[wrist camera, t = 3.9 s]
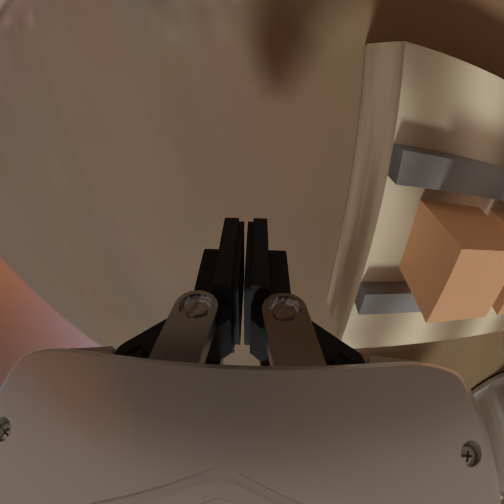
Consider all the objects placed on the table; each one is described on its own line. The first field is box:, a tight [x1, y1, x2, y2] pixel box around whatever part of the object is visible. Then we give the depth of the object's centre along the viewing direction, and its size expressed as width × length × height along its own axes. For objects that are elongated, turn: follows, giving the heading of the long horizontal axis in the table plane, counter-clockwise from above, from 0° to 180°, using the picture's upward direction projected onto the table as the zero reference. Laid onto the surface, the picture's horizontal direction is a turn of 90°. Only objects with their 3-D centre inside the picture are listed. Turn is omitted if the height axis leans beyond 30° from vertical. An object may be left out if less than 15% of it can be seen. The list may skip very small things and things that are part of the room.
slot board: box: [327, 41, 504, 349], centre depth 15 cm, size 18×18×6 cm
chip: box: [399, 200, 504, 323], centre depth 12 cm, size 4×4×4 cm
